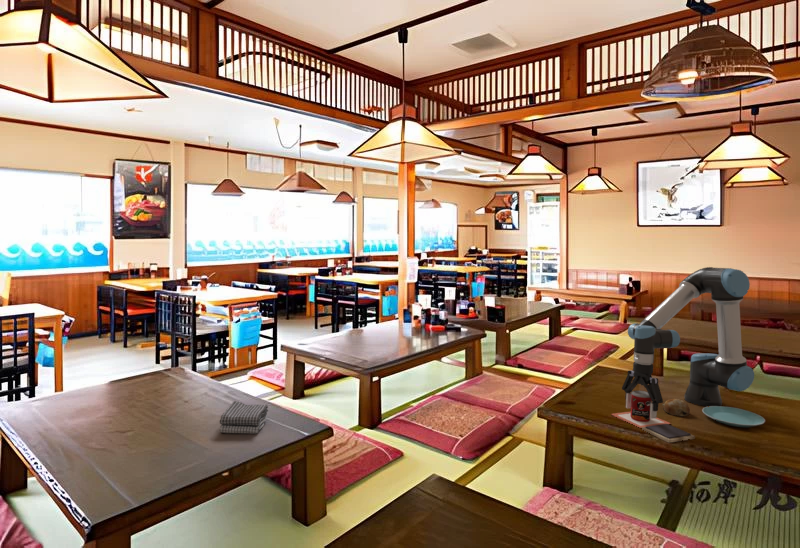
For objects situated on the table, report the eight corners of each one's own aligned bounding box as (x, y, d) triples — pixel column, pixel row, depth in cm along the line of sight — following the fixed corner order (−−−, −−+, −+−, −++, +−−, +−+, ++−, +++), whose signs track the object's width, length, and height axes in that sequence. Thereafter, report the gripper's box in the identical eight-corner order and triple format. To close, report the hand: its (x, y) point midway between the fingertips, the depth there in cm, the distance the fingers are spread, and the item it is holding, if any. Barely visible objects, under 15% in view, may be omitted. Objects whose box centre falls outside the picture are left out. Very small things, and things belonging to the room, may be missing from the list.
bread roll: (671, 424, 212) (679, 410, 208) (655, 407, 221) (662, 393, 217) (689, 422, 215) (697, 408, 211) (673, 405, 223) (680, 392, 220)
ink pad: (666, 426, 199) (666, 422, 199) (694, 438, 187) (695, 434, 187) (641, 429, 195) (641, 425, 195) (668, 442, 183) (669, 438, 183)
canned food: (629, 420, 205) (631, 394, 204) (630, 414, 212) (632, 389, 211) (650, 423, 201) (651, 397, 200) (650, 417, 208) (652, 392, 207)
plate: (735, 433, 194) (735, 426, 194) (689, 413, 216) (690, 407, 215) (778, 428, 200) (779, 421, 199) (729, 410, 221) (730, 404, 221)
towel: (218, 435, 182) (218, 415, 182) (231, 418, 201) (231, 399, 200) (259, 435, 183) (259, 415, 183) (269, 417, 202) (269, 399, 201)
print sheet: (640, 411, 217) (640, 410, 217) (670, 424, 201) (670, 423, 201) (611, 415, 211) (611, 413, 211) (640, 428, 196) (640, 427, 196)
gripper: (614, 356, 215) (612, 404, 216) (660, 370, 192) (657, 424, 193) (628, 355, 217) (625, 402, 219) (675, 369, 194) (672, 422, 196)
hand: (640, 412), depth 206 cm, fingers open, 12 cm apart
